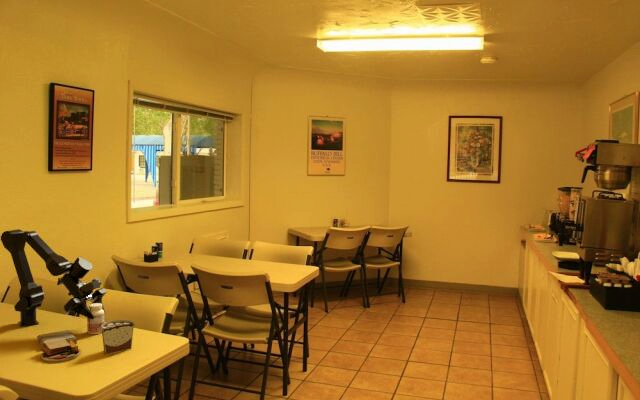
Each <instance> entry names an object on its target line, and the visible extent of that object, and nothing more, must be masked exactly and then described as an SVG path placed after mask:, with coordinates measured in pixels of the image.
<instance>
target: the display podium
mask: <svg viewBox="0 0 640 400" xmlns="http://www.w3.org/2000/svg"><path fill="white" fill-rule="evenodd" d="M57 338H65V339H66V341H67V342H68V343H69V342H70V341H73V342H74V343H75V345H77V344H78V341H77V337H76V336H75V335H74V334H73V333H72V332H71V331H70V330H69V329H66V330H65V329H64V330H59V331H54V332H49V333H42V334H38V335H36V342H37V343H38V345H39V346H40V348H42V347H43V346H44V345H43V342H44V341H47V340H51V339H57Z"/></svg>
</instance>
